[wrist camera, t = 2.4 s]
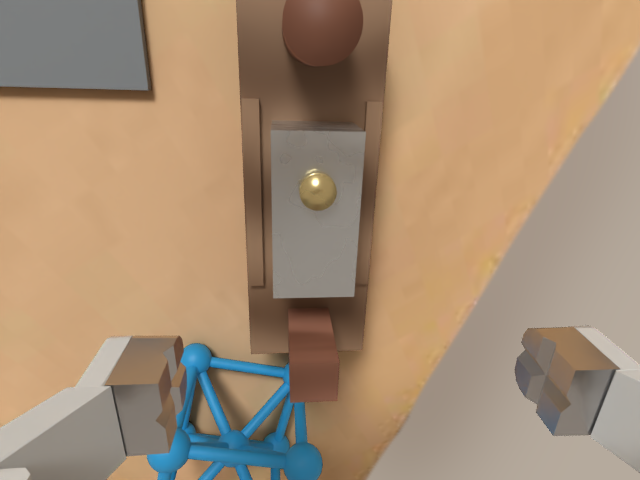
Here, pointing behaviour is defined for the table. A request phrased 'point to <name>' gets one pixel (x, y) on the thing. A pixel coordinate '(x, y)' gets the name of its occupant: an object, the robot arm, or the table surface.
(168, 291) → the table surface
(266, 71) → the plane body
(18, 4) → the felt mat
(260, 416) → the molecular structure
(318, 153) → the lever cap
